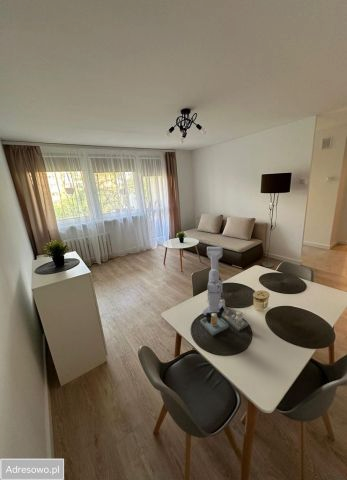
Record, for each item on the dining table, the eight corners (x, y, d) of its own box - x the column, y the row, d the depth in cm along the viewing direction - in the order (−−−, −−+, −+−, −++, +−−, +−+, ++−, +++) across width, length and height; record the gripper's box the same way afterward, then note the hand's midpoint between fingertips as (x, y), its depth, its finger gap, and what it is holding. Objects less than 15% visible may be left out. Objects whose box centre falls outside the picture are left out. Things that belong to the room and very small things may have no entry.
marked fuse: (210, 323, 116) (209, 314, 114) (214, 321, 117) (214, 312, 115) (213, 327, 113) (213, 317, 111) (218, 325, 114) (218, 315, 112)
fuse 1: (218, 308, 128) (218, 299, 126) (222, 306, 129) (222, 298, 127) (222, 311, 125) (222, 302, 123) (226, 309, 126) (226, 300, 124)
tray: (200, 323, 118) (200, 320, 117) (215, 316, 123) (215, 313, 122) (212, 336, 108) (212, 332, 107) (228, 327, 113) (228, 324, 112)
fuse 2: (234, 322, 115) (235, 312, 113) (239, 319, 116) (239, 310, 114) (239, 325, 112) (239, 315, 110) (243, 323, 113) (243, 313, 111)
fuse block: (214, 310, 129) (214, 306, 128) (223, 306, 132) (223, 302, 131) (238, 331, 110) (238, 326, 109) (248, 325, 113) (248, 321, 112)
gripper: (207, 309, 104) (208, 329, 108) (228, 300, 110) (227, 319, 114) (200, 302, 110) (201, 321, 114) (219, 294, 116) (220, 313, 120)
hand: (214, 320), depth 114 cm, fingers open, 7 cm apart
